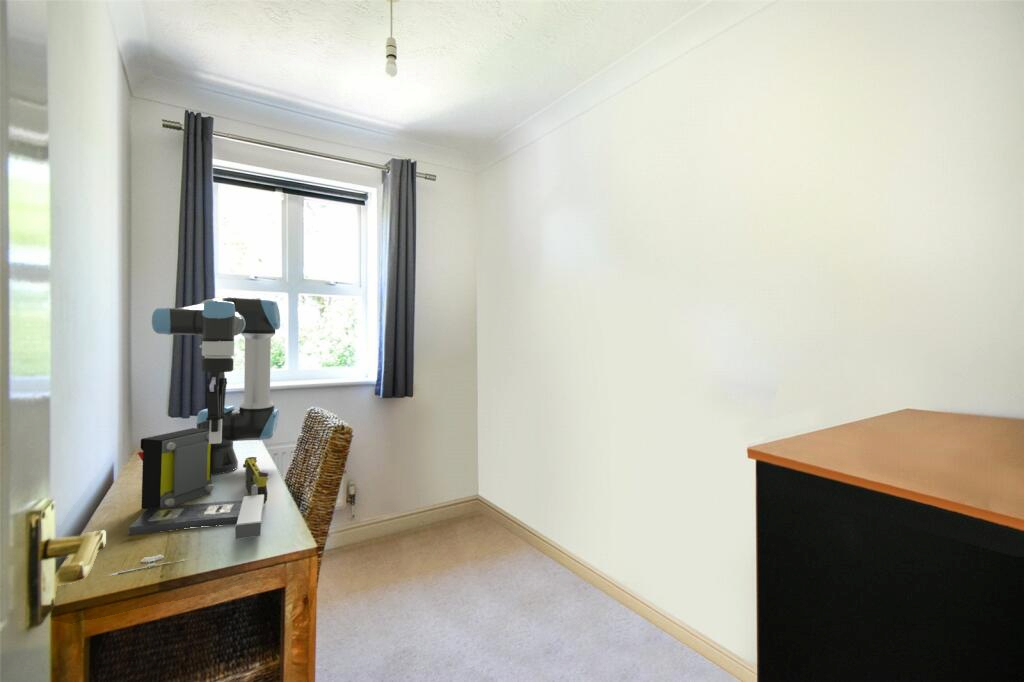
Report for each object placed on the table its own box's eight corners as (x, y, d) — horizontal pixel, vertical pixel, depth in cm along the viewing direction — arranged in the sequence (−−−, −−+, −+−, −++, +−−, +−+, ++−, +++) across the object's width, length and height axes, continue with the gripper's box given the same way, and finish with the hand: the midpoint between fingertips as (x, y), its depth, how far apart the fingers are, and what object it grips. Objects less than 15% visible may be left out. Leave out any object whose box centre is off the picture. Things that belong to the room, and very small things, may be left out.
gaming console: (241, 486, 156) (242, 456, 156) (255, 484, 159) (256, 455, 159) (252, 510, 136) (253, 475, 136) (268, 507, 138) (269, 473, 138)
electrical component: (165, 511, 132) (167, 440, 132) (135, 508, 134) (137, 438, 134) (216, 492, 149) (218, 429, 150) (189, 489, 152) (191, 427, 152)
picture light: (108, 578, 97) (108, 567, 97) (111, 569, 100) (111, 560, 100) (190, 561, 105) (191, 552, 105) (190, 554, 108) (190, 545, 108)
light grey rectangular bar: (243, 507, 130) (243, 496, 130) (264, 505, 132) (264, 493, 132) (235, 539, 110) (235, 525, 110) (260, 535, 112) (260, 522, 112)
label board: (148, 515, 129) (149, 486, 129) (260, 505, 139) (260, 478, 139) (128, 535, 116) (129, 502, 116) (253, 522, 126) (254, 492, 126)
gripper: (207, 356, 134) (205, 438, 134) (195, 357, 122) (192, 449, 121) (237, 356, 136) (235, 437, 136) (228, 358, 124) (225, 447, 124)
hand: (215, 442), depth 129 cm, fingers closed
